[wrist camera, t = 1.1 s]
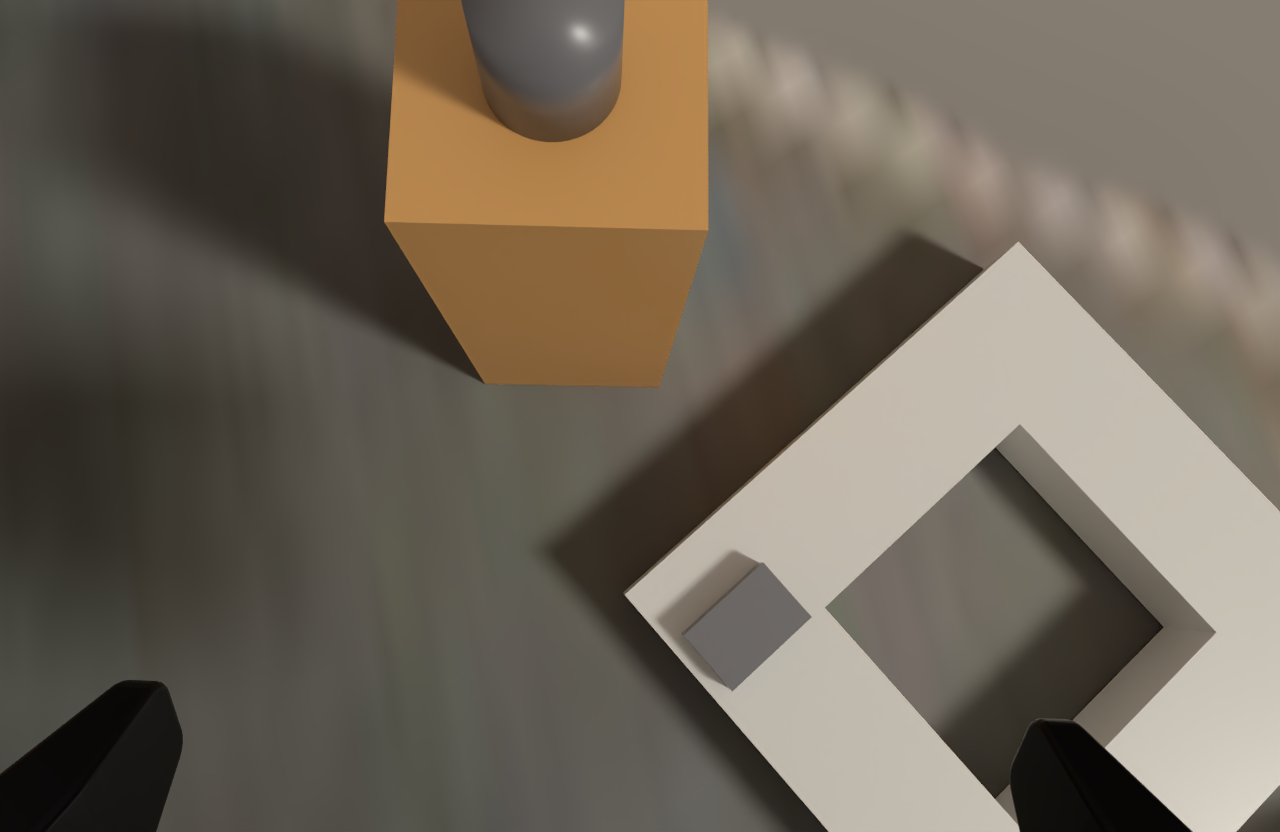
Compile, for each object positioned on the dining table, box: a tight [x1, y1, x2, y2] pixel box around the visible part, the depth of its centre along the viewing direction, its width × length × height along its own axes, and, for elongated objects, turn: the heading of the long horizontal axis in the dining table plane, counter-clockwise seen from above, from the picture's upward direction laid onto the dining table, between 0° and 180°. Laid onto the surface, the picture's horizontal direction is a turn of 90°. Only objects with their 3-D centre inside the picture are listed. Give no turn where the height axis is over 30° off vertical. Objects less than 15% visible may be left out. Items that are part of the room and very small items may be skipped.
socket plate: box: [623, 242, 1280, 832], centre depth 22 cm, size 13×13×3 cm
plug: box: [384, 0, 708, 387], centre depth 17 cm, size 4×4×13 cm
